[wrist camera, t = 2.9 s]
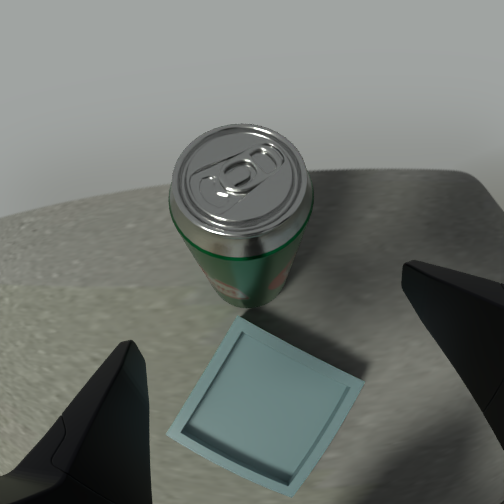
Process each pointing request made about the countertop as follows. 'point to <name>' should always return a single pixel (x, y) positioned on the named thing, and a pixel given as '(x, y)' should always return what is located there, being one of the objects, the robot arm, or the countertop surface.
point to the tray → (265, 409)
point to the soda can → (242, 209)
